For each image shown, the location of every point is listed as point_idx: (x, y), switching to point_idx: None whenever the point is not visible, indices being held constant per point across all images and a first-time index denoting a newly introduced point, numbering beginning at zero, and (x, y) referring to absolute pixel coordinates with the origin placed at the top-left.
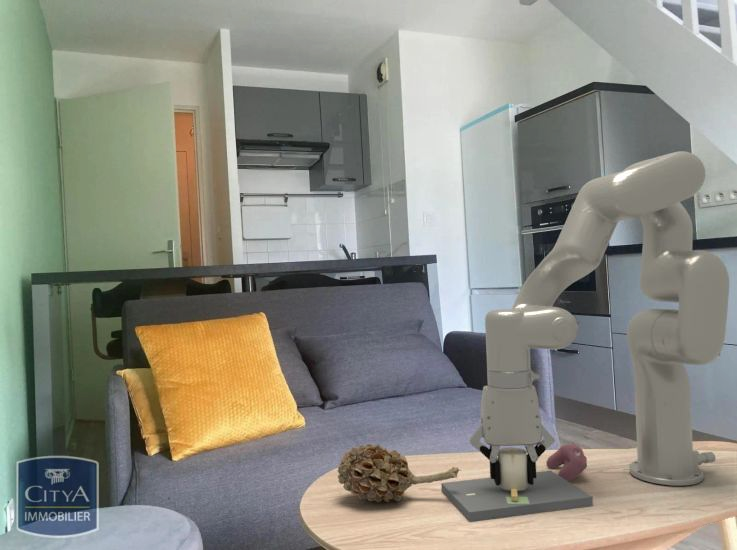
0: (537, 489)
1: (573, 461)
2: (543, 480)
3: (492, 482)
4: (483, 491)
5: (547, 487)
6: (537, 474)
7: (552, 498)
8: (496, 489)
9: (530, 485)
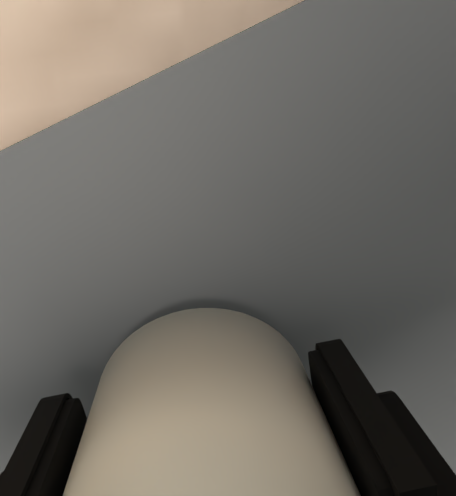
0: (362, 358)
1: None
2: (437, 173)
3: (34, 274)
4: (1, 446)
5: (434, 311)
6: (418, 15)
7: None
8: (85, 400)
9: (324, 291)
